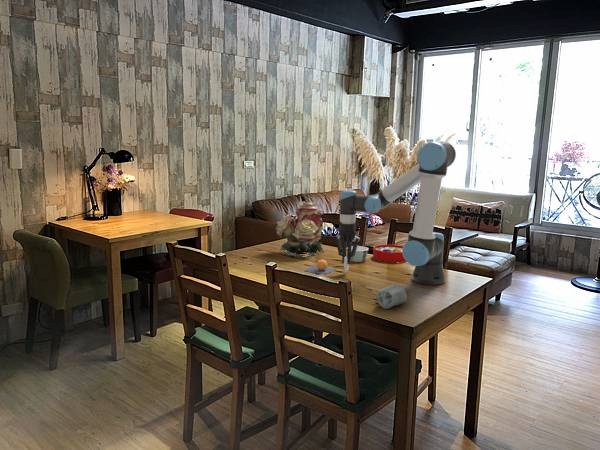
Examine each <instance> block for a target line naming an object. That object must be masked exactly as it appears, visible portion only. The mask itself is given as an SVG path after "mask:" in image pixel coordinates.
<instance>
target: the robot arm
mask: <svg viewBox="0 0 600 450" xmlns="http://www.w3.org/2000/svg"><path fill="white" fill-rule="evenodd" d="M456 154H457V152H456V149H455V147H454V146H453V145H452V144H451V143H449V142H447V141H429V142H426V143H424V144H422V146H420V148H419V149H418V151H417V154H416V161H417V164H416V165H414V166H413V167H411V168H410V169H409V170H408V171H406V172H404V173H403V174H402V175H401V176H399V177H398V178H396V179H395V180H393V181H392V182H391V183H390V184H388V185H386V187H384V188H383V189H381V190H380V191H378V192H377V193H375V194H370V195H358V194H357V191H356V190H350V189H344V190H342V191H340V199H339V201H340V207H339V212H340V213H339V222H340V223H339V232H338V234H336V235H334V236H333V237H334V240H335V242H336V248H337V252H338V256H341V257H342V261H341V262H342V264H343V271H345V272H348V271H349V270H350V265H351V263H352V261H351V257H353V256H355V252H356V249H357V246H359V242H360V241H361V237H358V236H357V234H356V221H357V219H356V216H357V215H356V214H357V212H360V213H368V214H377V213H379V211H380V210H384V209H385V208H388V206H390V205H391V203H392V202H394V201H395V200H397V199H398V198H400V197H402V196H403V195H405V193H407V192H408V191H410V190H411V189H413V188H414V187H416V186H417V185H419V188H418V189H419V190H418V195H417V200H416V206H415V208H416V209H415V213H414V214H415V215H414V220H413V226H412V229H411V230H410V231H409V232H408V234H407V235H408V236H407V242H406V243H404V245H403V246H404V247H403V250H402V253H403V257H404V259H405V260H406V261H407V262H406V263H407V264H408V265H411V266H412V267H414V269H413V271H412V275H411V276H412V277H411V280H412V281H413V282H416V283H418V284H423V285H429V286H430V285H434V286H435V285H441V284H445V283H446V275H445V274H446V273H445V270H444V267H443V261H444V260H443V258H444V245H445V235H444V234H443V233H441V232H436V231H434V226H435V221H436V216H437V215H436V214H437V209H438V205H439V204H438V203H439V196H440V191H441V185H442V179H443V178H444V177H446V176H447V172H448V167H450V166H452V165H453V164H454V162H455V160H456V158H457V157H456V156H457V155H456ZM353 241H354V242H353ZM352 244H353V245H352ZM352 246H353V248H352ZM351 248H352V252H351Z"/></svg>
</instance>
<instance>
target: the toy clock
mask: <svg viewBox="0 0 600 450" xmlns="http://www.w3.org/2000/svg"><path fill="white" fill-rule="evenodd" d="M403 247H404V245H398V244H378V245H374V246H373V251H372V255H373V256H372V258H373V259H374V260H376V261H378V260H379V261H378V262H382V261H383V263H390V262H400V263H408V262H407V261H406V260H405V259H404V257H403V253H402V250H403Z"/></svg>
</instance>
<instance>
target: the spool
mask: <svg viewBox="0 0 600 450" xmlns="http://www.w3.org/2000/svg"><path fill="white" fill-rule="evenodd" d="M407 298H408V296H407V292H406V290H405V288H404V287H403V286H402V285H399V284H392V285H388V286H386V287H383V288H382V289H379V290H378V291H377V293H376V299H377V302H378V305H379V306H380V307H381V308H382V309H384V310H389V309H390V308H393V307H395V306H400V305H402V304H405V303H406V301H407Z"/></svg>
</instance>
